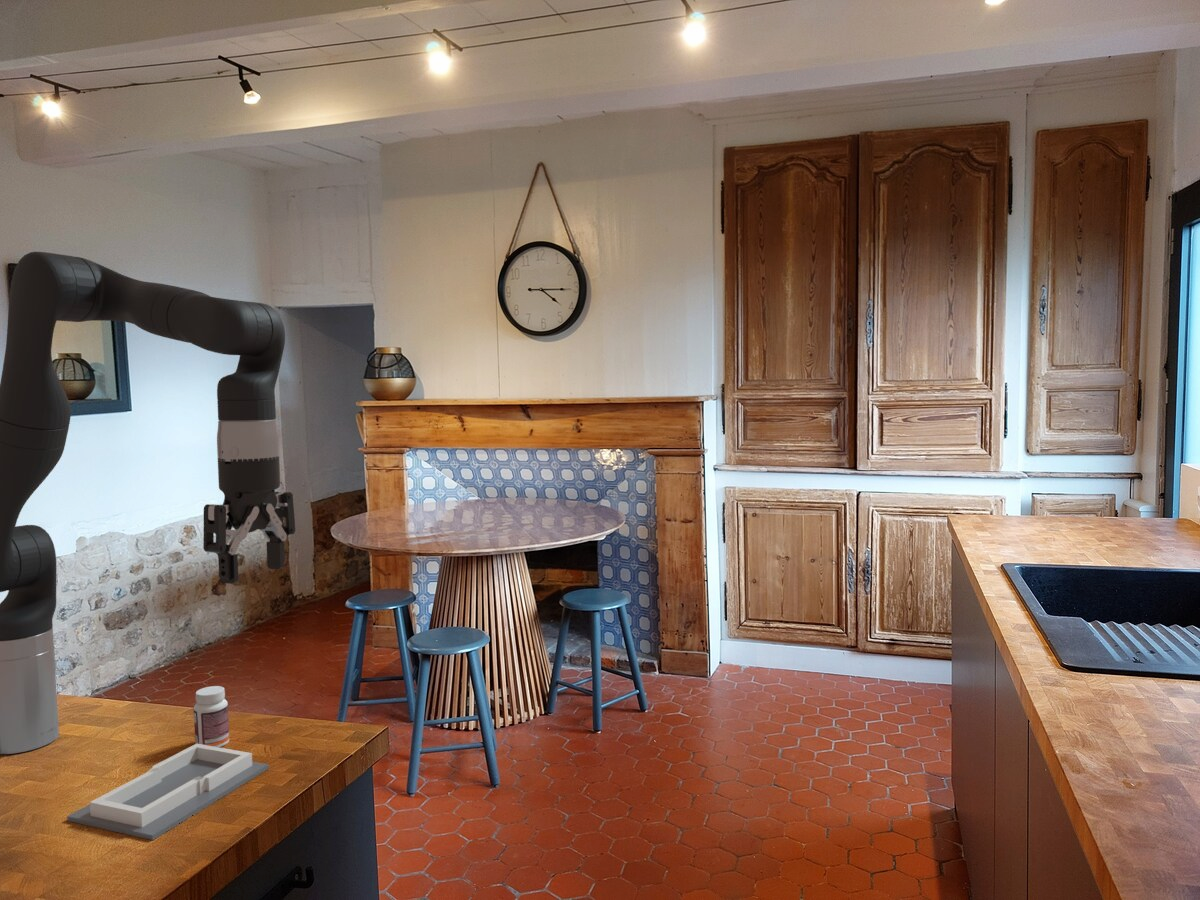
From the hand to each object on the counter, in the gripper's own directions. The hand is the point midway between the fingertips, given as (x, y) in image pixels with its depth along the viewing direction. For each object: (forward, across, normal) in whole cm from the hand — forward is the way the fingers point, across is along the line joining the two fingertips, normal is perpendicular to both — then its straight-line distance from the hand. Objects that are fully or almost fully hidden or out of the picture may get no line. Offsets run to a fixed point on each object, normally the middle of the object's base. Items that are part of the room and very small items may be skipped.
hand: (253, 575), depth 113 cm
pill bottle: (+30, -9, -17) cm, 35 cm away
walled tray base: (+29, +5, -10) cm, 31 cm away
